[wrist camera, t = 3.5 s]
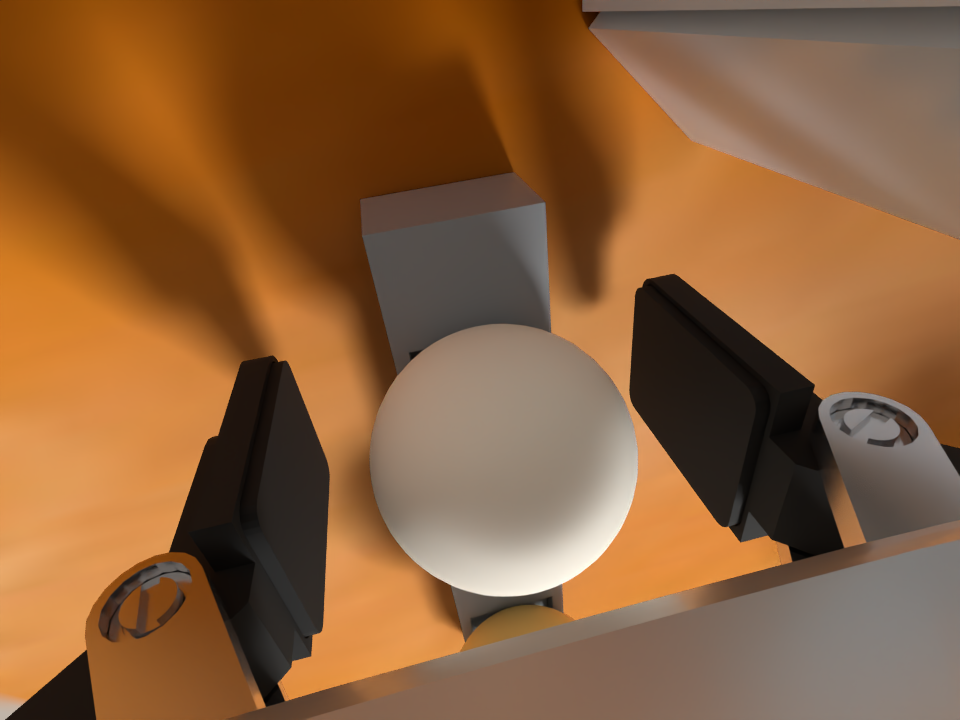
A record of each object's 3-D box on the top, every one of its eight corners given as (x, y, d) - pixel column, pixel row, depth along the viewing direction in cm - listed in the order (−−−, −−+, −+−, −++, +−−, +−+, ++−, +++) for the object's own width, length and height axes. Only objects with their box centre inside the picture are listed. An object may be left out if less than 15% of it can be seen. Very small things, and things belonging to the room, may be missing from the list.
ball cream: (578, 259, 10) (715, 405, 6) (580, 435, 12) (677, 613, 9) (340, 306, 9) (332, 494, 6) (392, 479, 12) (410, 686, 8)
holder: (514, 171, 10) (544, 202, 9) (547, 616, 19) (566, 672, 18) (360, 199, 10) (362, 235, 8) (468, 638, 19) (479, 697, 17)
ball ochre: (581, 555, 15) (655, 730, 11) (581, 636, 17) (643, 801, 14) (427, 595, 14) (453, 791, 11) (450, 672, 17) (478, 852, 13)
